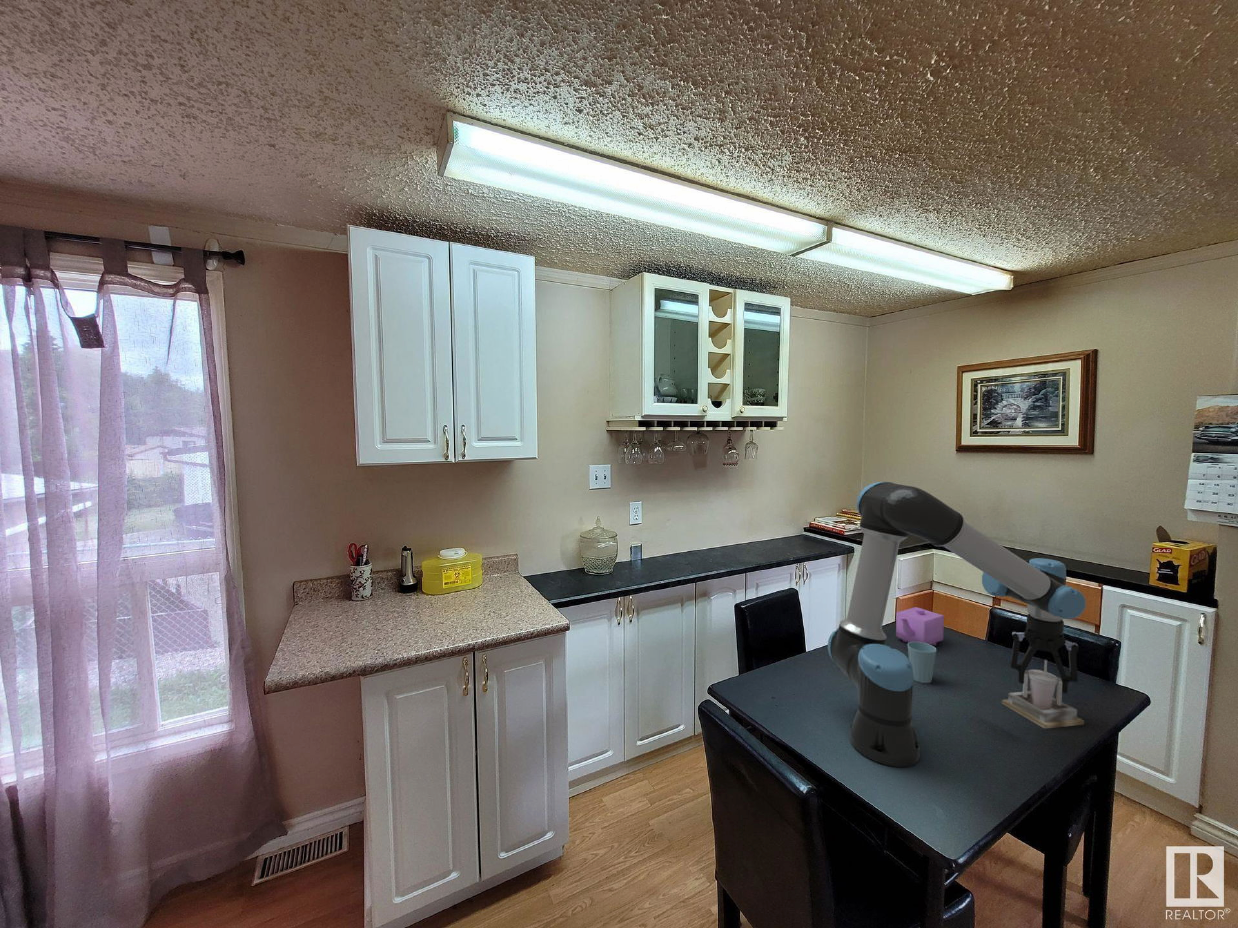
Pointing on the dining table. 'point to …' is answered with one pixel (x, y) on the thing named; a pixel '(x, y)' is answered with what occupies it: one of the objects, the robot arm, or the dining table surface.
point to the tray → (1043, 711)
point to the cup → (922, 660)
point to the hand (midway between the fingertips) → (1041, 698)
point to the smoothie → (1042, 687)
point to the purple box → (919, 626)
